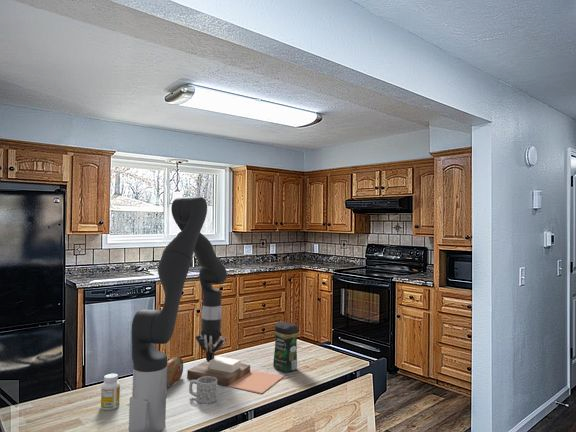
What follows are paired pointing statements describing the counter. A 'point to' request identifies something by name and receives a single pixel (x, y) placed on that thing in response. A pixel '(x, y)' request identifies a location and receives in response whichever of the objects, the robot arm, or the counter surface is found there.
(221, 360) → the cream block
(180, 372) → the tin
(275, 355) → the coffee jar
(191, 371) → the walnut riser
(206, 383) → the mug
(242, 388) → the terracotta mat
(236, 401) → the counter surface
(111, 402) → the supplement bottle
